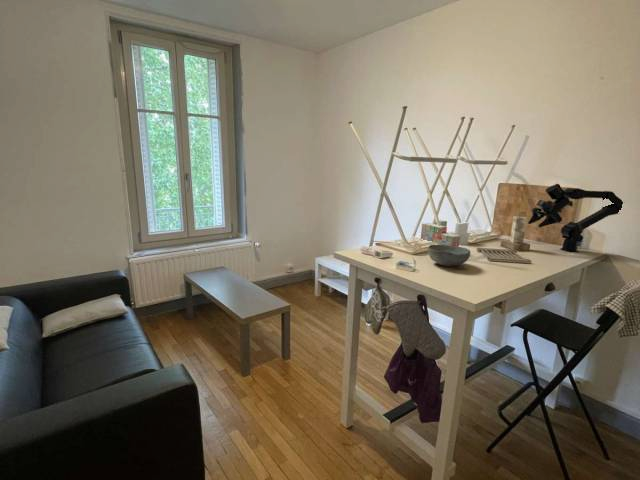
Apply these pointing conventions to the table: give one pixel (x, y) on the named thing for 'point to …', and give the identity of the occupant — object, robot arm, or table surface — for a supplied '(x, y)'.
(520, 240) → the birch block
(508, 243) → the walnut block
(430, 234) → the stack of blocks
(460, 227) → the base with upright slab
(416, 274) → the table surface
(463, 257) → the bowl
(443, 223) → the skincare box
